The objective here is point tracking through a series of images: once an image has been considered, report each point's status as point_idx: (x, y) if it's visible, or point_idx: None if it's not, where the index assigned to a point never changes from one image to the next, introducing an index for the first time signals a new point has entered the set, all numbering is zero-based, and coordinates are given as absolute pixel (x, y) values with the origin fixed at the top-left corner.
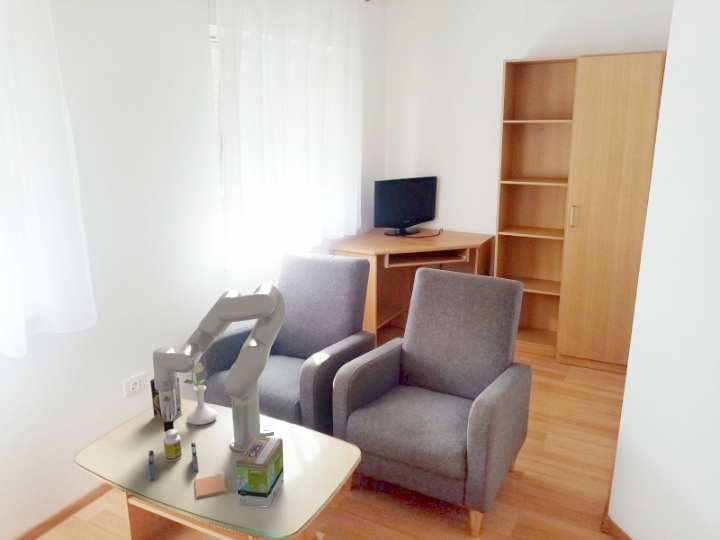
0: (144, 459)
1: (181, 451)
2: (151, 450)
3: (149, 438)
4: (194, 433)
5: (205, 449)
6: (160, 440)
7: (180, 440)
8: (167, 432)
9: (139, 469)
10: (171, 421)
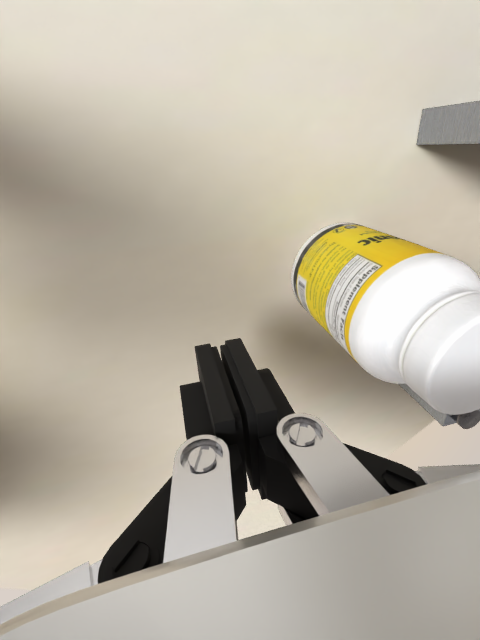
0: (290, 404)
1: (360, 227)
2: (462, 420)
3: (67, 435)
4: (3, 124)
5: (325, 21)
6: (102, 375)
7: (432, 250)
8: (472, 399)
9: (363, 402)
10: (272, 418)
